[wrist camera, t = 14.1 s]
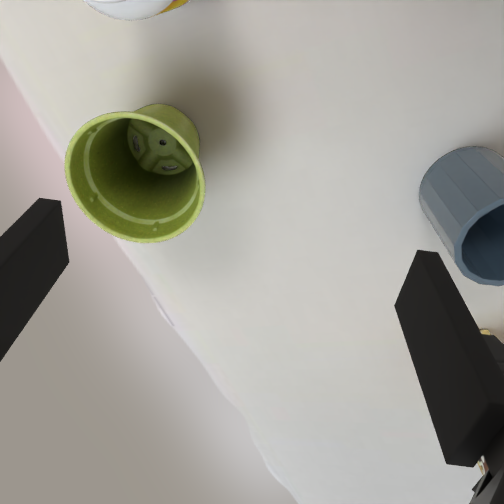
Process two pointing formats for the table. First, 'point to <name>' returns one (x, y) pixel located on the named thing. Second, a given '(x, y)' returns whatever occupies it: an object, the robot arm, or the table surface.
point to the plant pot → (137, 173)
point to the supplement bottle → (134, 7)
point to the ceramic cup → (469, 210)
